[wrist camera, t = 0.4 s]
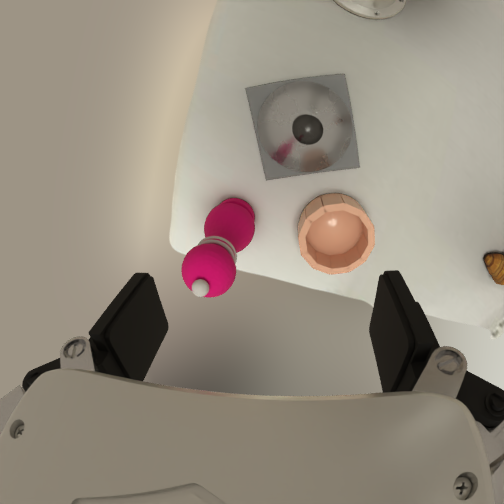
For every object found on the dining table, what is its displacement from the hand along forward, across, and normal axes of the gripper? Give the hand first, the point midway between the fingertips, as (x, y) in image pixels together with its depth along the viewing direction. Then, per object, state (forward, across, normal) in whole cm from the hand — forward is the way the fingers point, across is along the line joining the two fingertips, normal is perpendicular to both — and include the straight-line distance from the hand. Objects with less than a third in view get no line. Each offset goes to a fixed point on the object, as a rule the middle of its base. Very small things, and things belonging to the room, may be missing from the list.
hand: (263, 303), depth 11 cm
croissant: (+33, -46, +19) cm, 59 cm away
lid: (+32, -3, -5) cm, 32 cm away
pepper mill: (+33, +8, +8) cm, 35 cm away
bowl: (+32, -7, +11) cm, 35 cm away
